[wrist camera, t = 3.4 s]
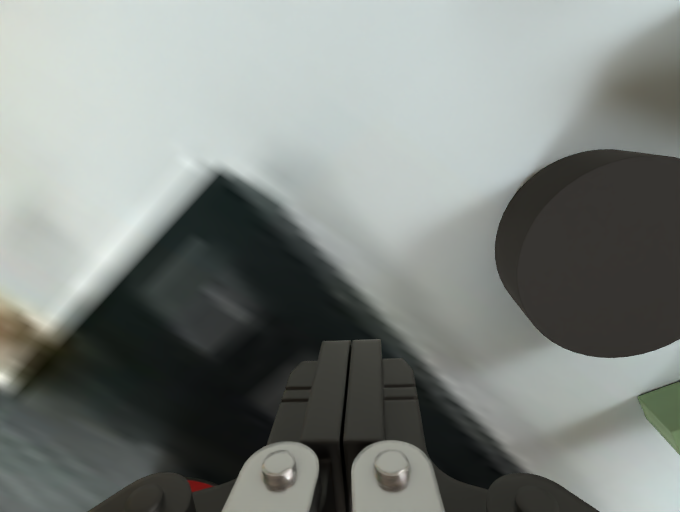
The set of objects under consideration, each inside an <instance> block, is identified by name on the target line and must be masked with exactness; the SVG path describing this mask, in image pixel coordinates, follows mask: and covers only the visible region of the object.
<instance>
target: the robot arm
mask: <svg viewBox="0 0 680 512" xmlns="http://www.w3.org/2000/svg"><path fill="white" fill-rule="evenodd" d="M88 512H599V511H598V510H596V509H595V508H593V507H592V506H590V505H589V504H587V503H586V502H584V501H583V500H581V499H580V498H578V497H577V496H575V495H574V494H572V493H571V492H569V491H568V490H566V489H565V488H563V487H562V486H560V485H559V484H557V483H555V482H553V481H551V480H549V479H547V478H544V477H541V476H538V475H534V474H529V473H512V474H507V475H504V476H502V477H500V478H498V479H497V480H495V481H494V482H493V483H492V484H491V486H490V487H489V489H488V490H487V489H484V488H480V487H476V486H473V485H469V484H466V483H463V482H460V481H457V480H455V479H453V478H451V477H449V476H448V475H446V474H445V473H443V472H442V471H441V470H440V469H438V468H437V466H436V465H435V464H434V463H433V462H432V460H431V459H430V457H429V455H428V453H427V449H426V445H425V439H424V433H423V427H422V421H421V414H420V408H419V402H418V396H417V390H416V384H415V378H414V372H413V369H412V368H411V367H410V366H409V365H408V364H407V363H406V361H405V360H404V359H403V358H394V359H382V353H381V339H370V340H353V341H352V345H351V340H343V341H322V344H321V348H320V353H319V357H318V361H302V362H301V363H300V364H299V365H298V366H297V367H296V368H295V369H294V370H293V371H292V372H291V373H290V376H289V379H288V382H287V385H286V390H285V391H284V394H283V397H282V402H281V403H280V406H279V409H278V412H277V415H276V418H275V421H274V424H273V427H272V430H271V433H270V436H269V439H268V442H267V445H266V446H265V447H263V448H261V449H259V450H258V451H257V452H255V453H254V454H253V455H252V456H251V457H250V458H249V459H248V460H247V461H246V462H245V464H244V466H243V467H242V469H241V471H240V473H239V476H238V478H236V479H234V480H232V481H229V482H227V483H224V484H220V485H217V486H213V487H209V488H206V489H202V490H199V491H195V492H192V491H191V487H190V484H189V482H188V481H187V479H186V478H184V477H183V476H182V475H179V474H177V473H172V472H162V473H156V474H151V475H149V476H146V477H143V478H141V479H139V480H137V481H135V482H133V483H131V484H130V485H128V486H127V487H125V488H123V489H122V490H120V491H119V492H117V493H116V494H114V495H113V496H111V497H109V498H108V499H106V500H105V501H103V502H102V503H100V504H99V505H97V506H95V507H94V508H92V509H91V510H89V511H88Z"/></svg>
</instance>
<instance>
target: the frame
mask: <svg viewBox="0 0 680 512" xmlns="http://www.w3.org/2000/svg"><path fill="white" fill-rule="evenodd" d="M638 400H639V402H640V405H641V407H642V409H643V412H644V414H645V416H646V419H647V420H648V421H649V422H650V423H651V424H652V425H653V426H654V427H655V428H656V430H657V431H658V432H659V433H660V434H661V435H662V436H663V437H664V438H665V439H666V441H667V442H668V443H669V444H670V445H671V446H672V447H673V448H674V449H675V450H676V451H677V453H678V454H679V455H680V381H679V382H677V383H674V384H671V385H668V386H666V387H663V388H660V389H657V390H654V391H652V392H649V393H646V394H643V395H641V396H638Z"/></svg>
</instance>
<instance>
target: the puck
mask: <svg viewBox="0 0 680 512" xmlns="http://www.w3.org/2000/svg"><path fill="white" fill-rule="evenodd" d="M495 260H496V265H497V270H498V273H499V276H500V279H501V281H502V283H503V285H504V287H505V288H506V290H507V291H508V292H509V294H510V295H511V297H512V298H513V299H514V300H515V302H516V303H517V304H518V306H519V307H520V308H521V309H522V311H523V312H524V313H525V315H526V316H527V317H528V318H529V320H530V321H531V322H532V324H533V325H534V326H535V327H536V328H537V329H538V330H539V331H540V332H541V333H542V334H543V335H544V336H545V337H547V338H548V339H549V340H551V341H552V342H554V343H556V344H557V345H559V346H561V347H563V348H565V349H568V350H570V351H573V352H576V353H579V354H583V355H587V356H594V357H604V358H617V357H629V356H634V355H639V354H644V353H647V352H650V351H654V350H657V349H659V348H662V347H664V346H667V345H669V344H671V343H673V342H675V341H677V340H679V339H680V159H679V158H675V157H668V156H661V155H653V154H645V153H637V152H629V151H621V150H613V149H605V150H592V151H585V152H581V153H577V154H574V155H571V156H568V157H565V158H563V159H560V160H558V161H556V162H554V163H553V164H551V165H549V166H547V167H546V168H544V169H543V170H541V171H540V172H538V173H537V174H535V175H534V176H533V177H532V178H531V179H530V180H529V181H527V182H526V183H525V184H524V185H523V186H522V188H521V189H520V190H519V191H518V192H517V193H516V195H515V196H514V197H513V199H512V200H511V201H510V203H509V205H508V206H507V208H506V210H505V212H504V214H503V216H502V219H501V221H500V224H499V227H498V231H497V235H496V242H495Z"/></svg>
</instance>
